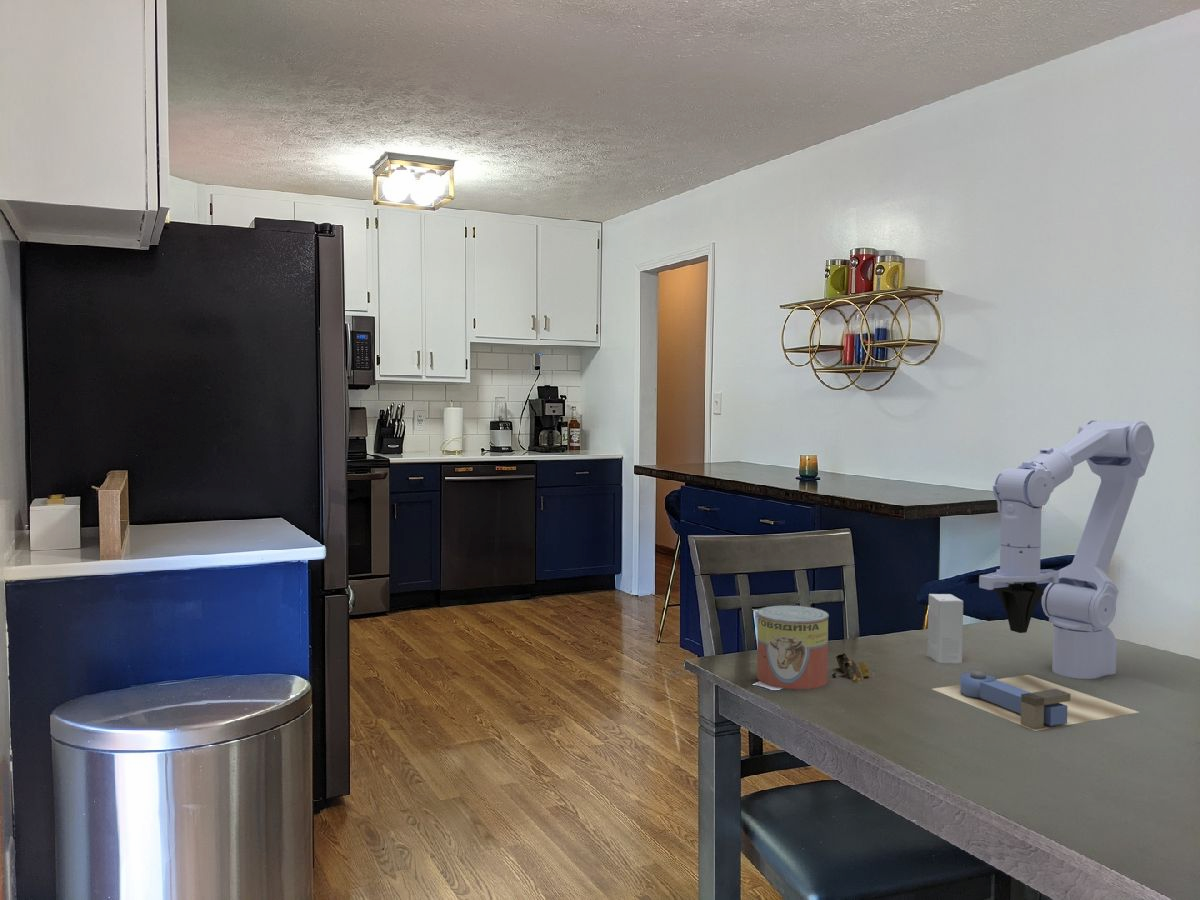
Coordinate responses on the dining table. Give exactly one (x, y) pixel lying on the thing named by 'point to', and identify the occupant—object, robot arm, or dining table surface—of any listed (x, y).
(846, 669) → the regulator
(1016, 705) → the link
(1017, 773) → the dining table surface
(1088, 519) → the robot arm
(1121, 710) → the board
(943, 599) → the skincare box
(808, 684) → the canned food
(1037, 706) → the keeper
